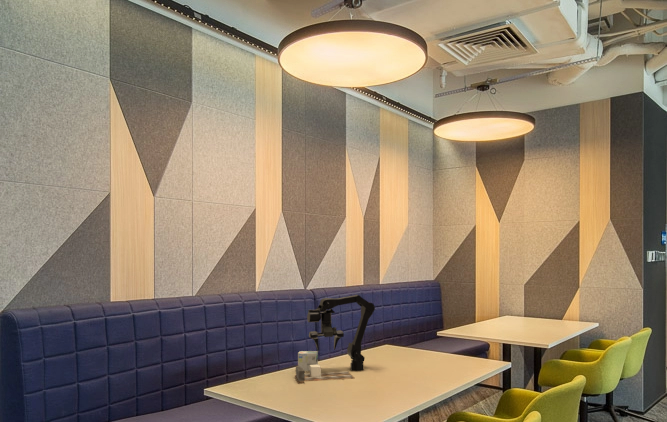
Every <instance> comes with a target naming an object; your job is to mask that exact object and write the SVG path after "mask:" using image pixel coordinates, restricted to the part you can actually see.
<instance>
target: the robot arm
mask: <svg viewBox="0 0 667 422" xmlns="http://www.w3.org/2000/svg"><path fill="white" fill-rule="evenodd" d="M353 303H354V304H355V303H356V304H357V305H358V306H359V307H360V318H359V321H358V325H357V328H356V331H355V335H354V338H353V341H352V342H348V346H347V347H346V350H347V351H346V352H347V353H346V354H347V355H348V357H350V359H351V360H350V361H351V362H350V371H351V372H354V371H355V372H361V371H364V361H365V356H364V355H363V354H362V341H363V339H364V335H365V332H366V329H367V326H368V322H369V320H370V318H372V316H373V314H374V311H376V310H375V309H376V306H375V304H374V303H372V302H369V301H368V300H366V299H365V298H364V297H362V296H361V295H359V294H354V295H350V296H343V297H337V298H332V297H331V298H330V297H328V298H327V297H324V298H322V299H320V301H319V304H318V306H317V308H316V309H308V312H307V315H306V319H307V320H306V321H307V322H308V323H319V322H320V332H318V331H309V332H308V333H309V334H308V337H309V338H310V339H312V340H313V341H314V343H315V346H316V349H317V351H318V352H319V350H320V349H319V348H320V347H319V338H318V337H324V338H333V337H334V339H333V349H334V351H336V348H337V344H338V342H339V340H340V339H342V338H343V337H344V336H345V334H344V331H343V330H341V329H340V330H337V327H336V326H335V327H332V314H335V313H336V312H335V310H334V308H335V307H339V306H344V305H348V304H353Z"/></svg>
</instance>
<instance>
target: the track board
mask: <svg viewBox="0 0 667 422" xmlns="http://www.w3.org/2000/svg"><path fill="white" fill-rule="evenodd" d="M305 372H306V371H304V369H303V368H302V366H298V365H296V366H295V375H294V379H295V381H296V380H297V381H296V383H297V384H300V385H301V384H305V382H317V381H319V382H320V381H334V380H336V381H339V380H352V379H353V380H354V379H355V377H354V376H353V375H352V374H351V372H349V371H335V372H333V371H332V372H321V377H310V373H305Z"/></svg>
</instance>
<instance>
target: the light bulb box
mask: <svg viewBox="0 0 667 422" xmlns="http://www.w3.org/2000/svg"><path fill="white" fill-rule="evenodd" d="M318 352H319V351H318V350H317V351H316V350H315V351H314V350H313V351H312V350H308V351H307V350H306V351H305V350H304V351H303V350H301V351H300V350H299V352H297V366H302V368H303V369H304V371H305V372H310V365H317V364H319V361H318V360H319V357H318V356H319V355H318Z"/></svg>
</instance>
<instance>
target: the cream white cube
mask: <svg viewBox="0 0 667 422" xmlns="http://www.w3.org/2000/svg"><path fill="white" fill-rule="evenodd" d="M321 368H322V367H321V365H320V364H319V363H318V364H317V365H310V371H309V374H310V377H321V373H322V369H321Z"/></svg>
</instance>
